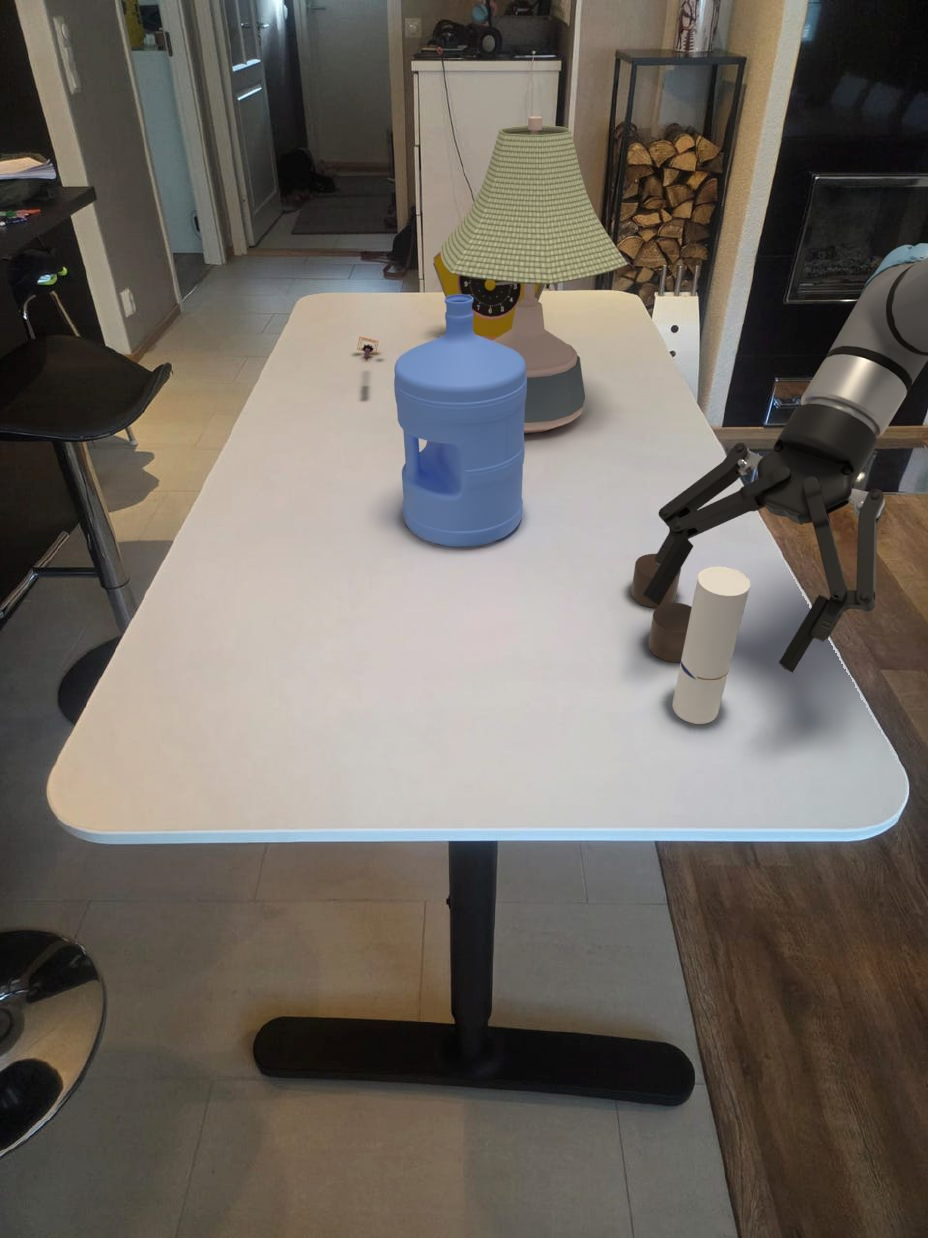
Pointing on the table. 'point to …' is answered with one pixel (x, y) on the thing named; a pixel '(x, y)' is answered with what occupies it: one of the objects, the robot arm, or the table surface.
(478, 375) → the water jug
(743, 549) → the table surface
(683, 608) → the disc
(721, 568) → the tube
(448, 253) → the desk lamp
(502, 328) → the yellow clock
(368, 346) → the framed picture
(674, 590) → the brown short cylinder
